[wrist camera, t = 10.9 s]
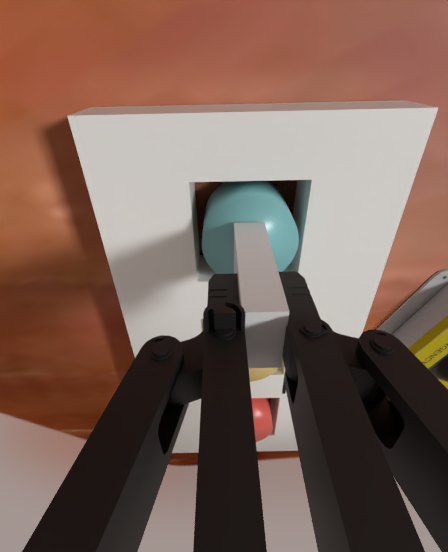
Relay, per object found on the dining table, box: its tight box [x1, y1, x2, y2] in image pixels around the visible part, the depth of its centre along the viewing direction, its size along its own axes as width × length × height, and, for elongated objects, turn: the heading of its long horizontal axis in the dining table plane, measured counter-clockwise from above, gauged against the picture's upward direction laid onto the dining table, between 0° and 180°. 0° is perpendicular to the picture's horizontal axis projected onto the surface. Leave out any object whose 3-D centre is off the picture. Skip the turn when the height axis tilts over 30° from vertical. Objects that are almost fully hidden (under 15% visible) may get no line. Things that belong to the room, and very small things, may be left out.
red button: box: [251, 398, 273, 442], centre depth 28 cm, size 5×5×4 cm
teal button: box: [202, 181, 299, 274], centre depth 17 cm, size 5×5×4 cm
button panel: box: [68, 100, 438, 453], centre depth 23 cm, size 16×30×3 cm, turn 1°
